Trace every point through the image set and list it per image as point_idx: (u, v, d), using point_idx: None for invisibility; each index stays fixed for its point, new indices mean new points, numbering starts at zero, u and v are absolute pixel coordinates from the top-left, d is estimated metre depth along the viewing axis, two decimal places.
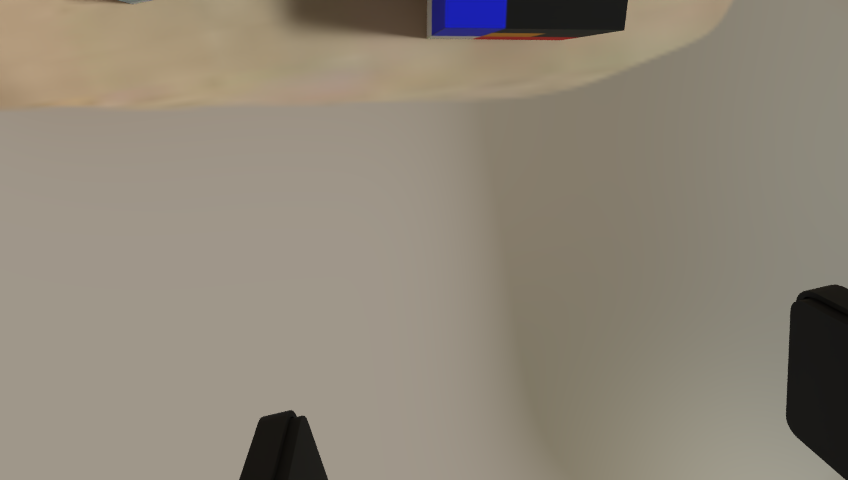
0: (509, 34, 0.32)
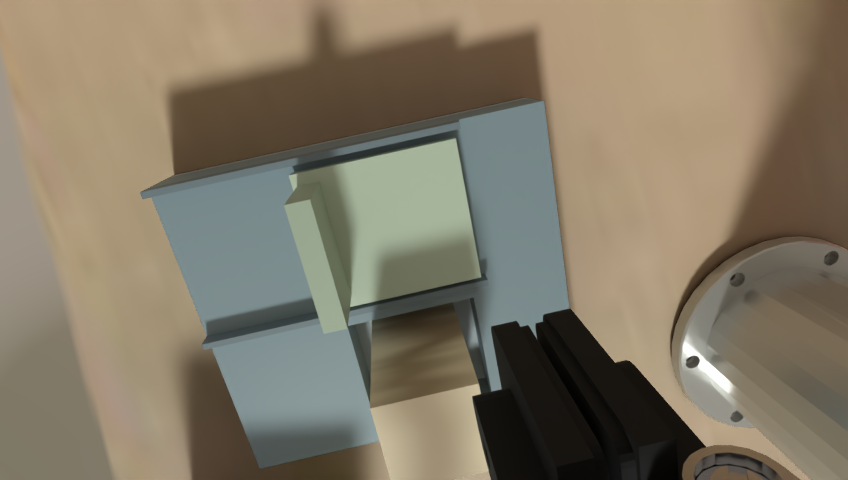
0: None
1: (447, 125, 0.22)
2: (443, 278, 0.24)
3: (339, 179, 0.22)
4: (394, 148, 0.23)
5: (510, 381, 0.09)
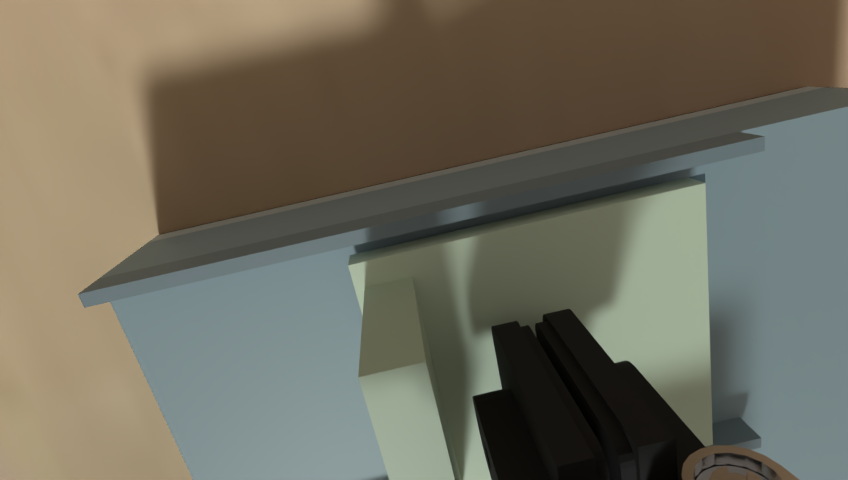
0: None
1: (738, 144, 0.10)
2: None
3: (455, 272, 0.10)
4: (605, 190, 0.11)
5: (510, 381, 0.09)
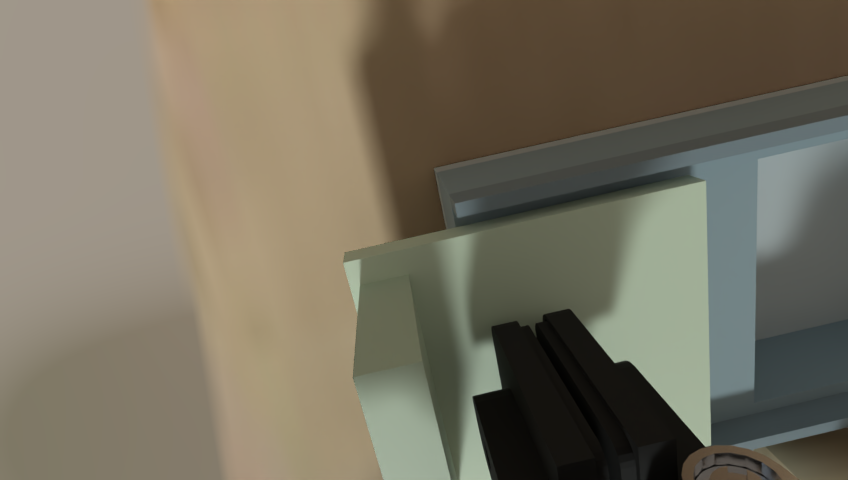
0: None
1: None
2: None
3: (452, 269, 0.10)
4: None
5: (510, 381, 0.09)
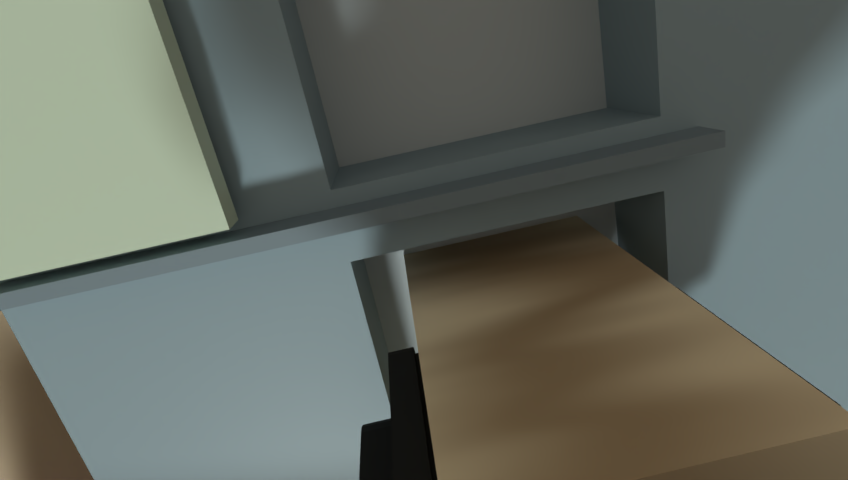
0: None
1: None
2: (119, 231, 0.09)
3: None
4: None
5: None
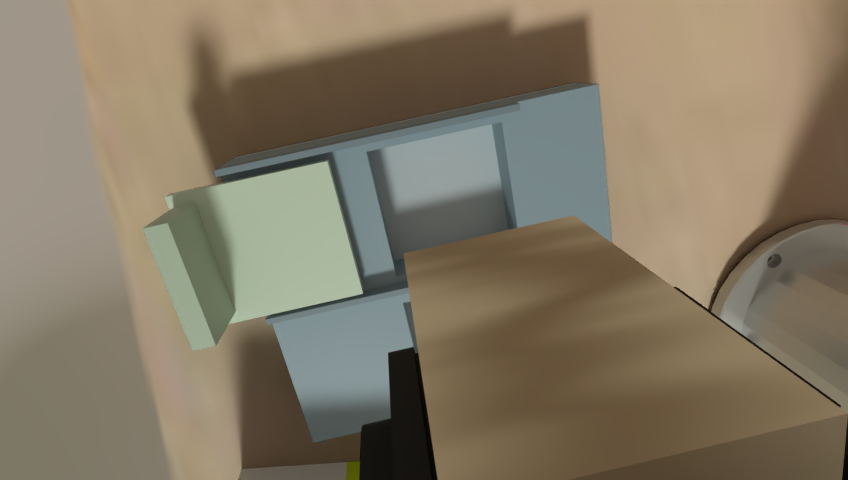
0: None
1: (508, 107, 0.23)
2: (325, 294, 0.25)
3: (215, 200, 0.23)
4: (454, 129, 0.24)
5: None
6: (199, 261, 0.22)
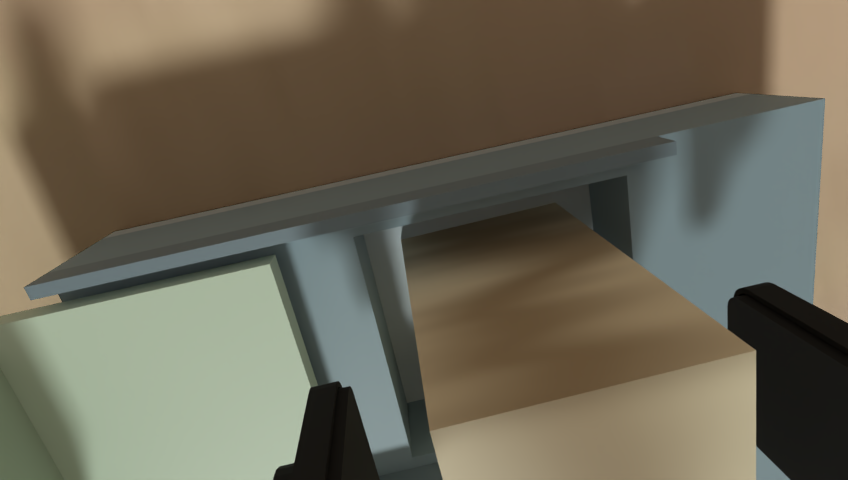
0: None
1: (651, 148, 0.11)
2: None
3: (35, 347, 0.11)
4: (532, 191, 0.12)
5: None
6: None
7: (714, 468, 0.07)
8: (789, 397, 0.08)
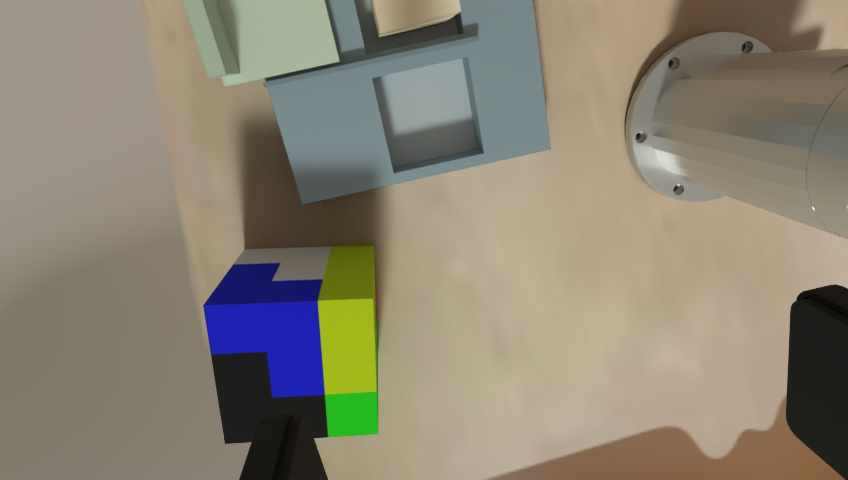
0: None
1: None
2: (310, 61, 0.32)
3: None
4: None
5: None
6: (213, 12, 0.29)
7: None
8: None
